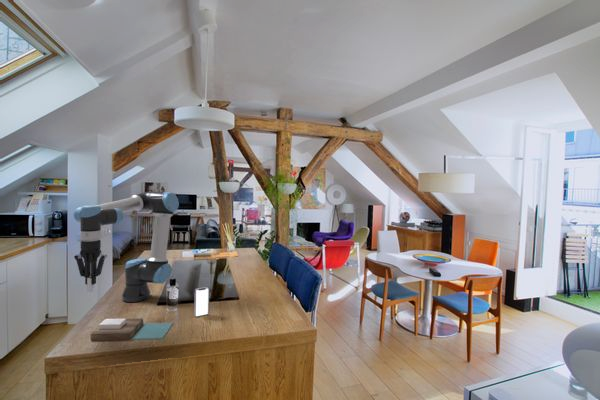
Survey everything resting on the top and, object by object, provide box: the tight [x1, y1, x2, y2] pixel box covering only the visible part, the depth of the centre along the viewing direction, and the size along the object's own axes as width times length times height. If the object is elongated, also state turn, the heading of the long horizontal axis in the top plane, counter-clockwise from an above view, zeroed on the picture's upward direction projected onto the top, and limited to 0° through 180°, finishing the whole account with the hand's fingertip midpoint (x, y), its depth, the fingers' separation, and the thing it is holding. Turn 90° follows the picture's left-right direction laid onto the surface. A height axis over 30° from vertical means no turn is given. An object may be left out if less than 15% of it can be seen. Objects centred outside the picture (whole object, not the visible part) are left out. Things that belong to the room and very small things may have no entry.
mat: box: [131, 322, 174, 341], centre depth 143 cm, size 15×13×1 cm
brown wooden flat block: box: [90, 317, 144, 342], centre depth 141 cm, size 15×16×3 cm
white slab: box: [98, 318, 127, 329], centre depth 141 cm, size 6×9×2 cm, turn 96°
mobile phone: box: [193, 286, 210, 318], centre depth 161 cm, size 8×1×15 cm, turn 124°
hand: (90, 291), depth 139 cm, fingers closed
